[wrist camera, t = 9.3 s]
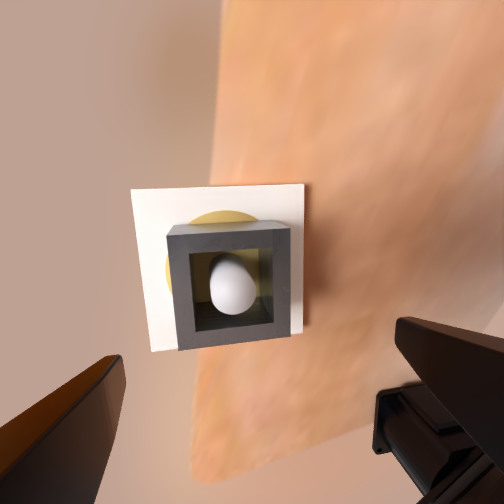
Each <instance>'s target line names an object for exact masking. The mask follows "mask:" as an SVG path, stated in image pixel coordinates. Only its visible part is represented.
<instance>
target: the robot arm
mask: <svg viewBox="0 0 504 504" xmlns="http://www.w3.org/2000/svg"><path fill="white" fill-rule="evenodd" d="M395 344H396V346H397V348H398V349H399V351H400V352H401V353H402V355H403V356H404V357H405V359H406V360H407V362H408V363H409V364H410V366H411V367H412V368H413V370H414V371H415V372H416V374H417V375H418V376H419V378H420V379H421V380H422V382H423V383H424V385H418V386H412V387H406V388H400V389H394V390H388V391H383V392H380V393H378V394H377V396H376V407H375V419H374V431H373V445H372V449H373V450H374V452H375V453H376V454H377V455H378V454H384V453H388V452H392V453H393V455H394V456H395V457H396V459H397V460H398V461H399V463H400V464H401V466H402V467H403V468H404V470H405V471H406V472H407V474H408V475H409V477H410V478H411V479H412V481H413V482H414V483H415V485H416V486H417V488H418V489H419V491H420V492H421V493H422V494H423V496H424V497H423V498H422V499H421V500H420V501H419V502H418V503H416V504H504V339H503V338H499V337H494V336H490V335H486V334H482V333H478V332H473V331H469V330H465V329H461V328H457V327H452V326H448V325H444V324H440V323H435V322H431V321H427V320H423V319H419V318H414V317H400V318H398V319H397V321H396V328H395ZM125 388H126V377H125V371H124V365H123V359H122V356H121V355H110V356H106V357H104V358H102V359H101V360H99V361H98V362H97V363H95V364H93V365H92V366H90V367H89V368H87V369H86V370H85V371H83V372H81V373H80V374H78V375H77V376H76V377H74V378H73V379H71V380H70V381H68V382H67V383H65V384H64V385H62V386H61V387H59V388H58V389H56V390H55V391H54V392H52V393H51V394H49V395H47V396H46V397H45V398H43V399H42V400H40V401H39V402H37V403H36V404H34V405H33V406H31V407H30V408H28V409H27V410H25V411H24V412H22V413H21V414H19V415H18V416H17V417H15V418H14V419H12V420H11V421H9V422H8V423H6V424H5V425H3V426H2V427H0V504H94V502H95V499H96V496H97V493H98V490H99V487H100V484H101V480H102V478H103V474H104V471H105V468H106V465H107V462H108V459H109V456H110V453H111V450H112V446H113V443H114V439H115V435H116V431H117V426H118V421H119V417H120V411H121V406H122V402H123V397H124V392H125Z"/></svg>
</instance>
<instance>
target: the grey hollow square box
mask: <svg viewBox="0 0 504 504" xmlns="http://www.w3.org/2000/svg"><path fill="white" fill-rule="evenodd" d="M166 239H167V248H168V258H169V267H170V277H171V286H172V296H173V305H174V315H175V324H176V334H177V343H178V350H179V351H180V350H188V349H196V348H204V347H212V346H220V345H228V344H235V343H243V342H251V341H259V340H267V339H275V338H282V337H290V336H291V239H290V227H287V226H285V225H283V224H281V223H278V222H276V221H274V220H257V221H239V222H221V223H203V224H185V225H173V227H172V228H171V229H170V231H169V232H168V234H167V235H166ZM245 249H258V259H259V293H260V297H256V298H255V301H254V303H253V304H252V306H251V307H250V308H249V309H247V310H246V311H244V312H242V313H240V314H235V315H231V314H226V313H223V312H221V311H220V310H218V309H217V308H216V307H215V305H214V304H213V302H212V301H211V302H201V303H196V291H195V280H194V268H193V256H192V253H204V252H217V251H231V250H245Z"/></svg>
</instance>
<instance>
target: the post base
mask: <svg viewBox="0 0 504 504" xmlns="http://www.w3.org/2000/svg"><path fill="white" fill-rule="evenodd" d="M131 197H132V205H133V212H134V220H135V228H136V236H137V243H138V251H139V259H140V266H141V274H142V281H143V290H144V297H145V305H146V312H147V320H148V327H149V336H150V344H151V351H152V352H155V351H163V350H171V349H178V343H177V334H176V324H175V315H174V305H173V296H172V286H171V277H170V267H169V258H168V248H167V239H166V235H167V234H168V232H169V231H170V229H171V228H172V227H173V225H185V224H203V223H221V222H239V221H257V220H274V221H276V222H278V223H281V224H283V225H285V226H287V227H290V239H291V334H298V333H303V258H304V184H284V185H254V186H224V187H194V188H167V189H165V188H164V189H137V190H131ZM192 256H193V268H194V280H195V291H196V303H201V302H211V301H212V302H213V304H214V305H215V307H216V308H217V309H218V310H220V311H221V312H223V313H226V314H231V315H235V314H240V313H242V312H244V311H246V310H247V309H249V308H250V307H251V306H252V304H253V303H254V301H255V298H256V297H260V293H259V259H258V249H245V250H231V251H217V252H204V253H192Z"/></svg>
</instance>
